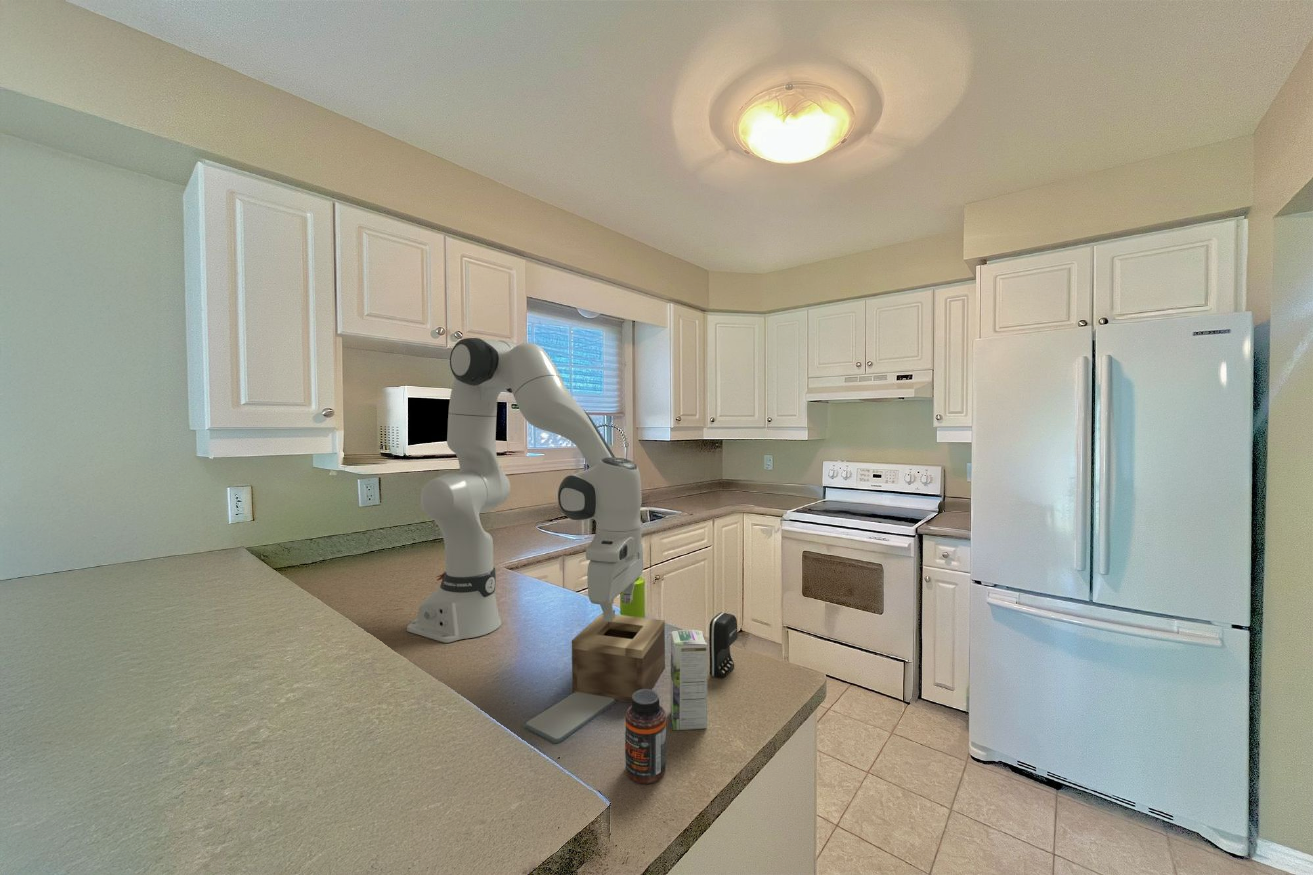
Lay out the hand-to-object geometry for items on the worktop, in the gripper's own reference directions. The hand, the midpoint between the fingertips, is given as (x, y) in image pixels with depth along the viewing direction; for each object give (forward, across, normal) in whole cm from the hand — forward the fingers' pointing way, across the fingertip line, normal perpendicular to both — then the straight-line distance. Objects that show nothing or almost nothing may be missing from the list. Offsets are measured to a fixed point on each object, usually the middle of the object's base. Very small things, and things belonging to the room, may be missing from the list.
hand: (618, 611), depth 99 cm
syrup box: (+14, +9, +17) cm, 23 cm away
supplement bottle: (+14, +23, +14) cm, 30 cm away
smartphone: (+14, +13, -3) cm, 20 cm away
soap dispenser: (+14, -21, -4) cm, 26 cm away
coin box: (+14, 0, +1) cm, 14 cm away
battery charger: (+14, -9, +20) cm, 25 cm away
